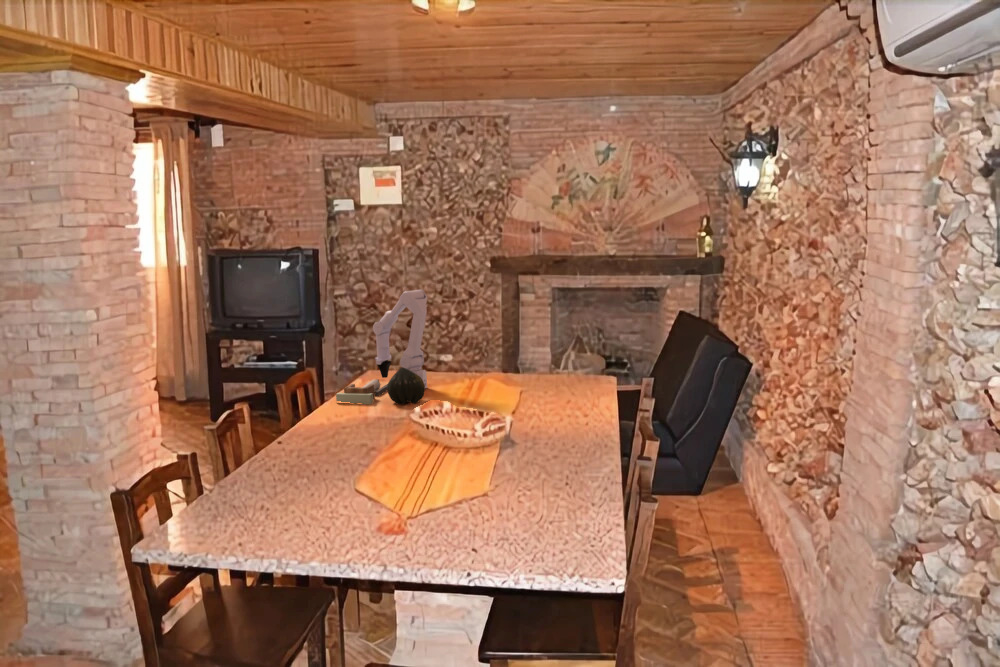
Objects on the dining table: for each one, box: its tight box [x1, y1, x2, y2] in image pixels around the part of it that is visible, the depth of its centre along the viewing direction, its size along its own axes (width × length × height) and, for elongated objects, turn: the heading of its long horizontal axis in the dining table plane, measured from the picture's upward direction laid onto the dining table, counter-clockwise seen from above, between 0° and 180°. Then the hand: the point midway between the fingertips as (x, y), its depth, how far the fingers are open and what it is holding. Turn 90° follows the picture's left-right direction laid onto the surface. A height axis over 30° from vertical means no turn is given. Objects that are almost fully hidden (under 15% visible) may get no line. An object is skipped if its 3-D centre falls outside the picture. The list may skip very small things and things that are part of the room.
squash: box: [387, 367, 426, 405], centre depth 314 cm, size 14×15×15 cm
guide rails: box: [374, 379, 388, 397], centre depth 340 cm, size 10×24×2 cm, turn 168°
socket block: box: [343, 383, 375, 400], centre depth 320 cm, size 10×8×6 cm
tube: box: [362, 379, 381, 391], centre depth 331 cm, size 5×5×25 cm
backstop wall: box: [335, 392, 374, 405], centre depth 315 cm, size 15×2×4 cm, turn 78°
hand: (384, 377), depth 349 cm, fingers closed
